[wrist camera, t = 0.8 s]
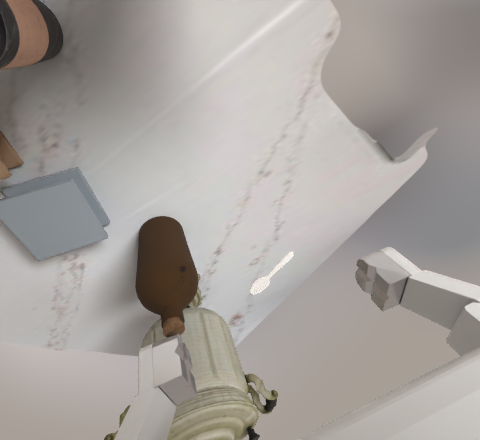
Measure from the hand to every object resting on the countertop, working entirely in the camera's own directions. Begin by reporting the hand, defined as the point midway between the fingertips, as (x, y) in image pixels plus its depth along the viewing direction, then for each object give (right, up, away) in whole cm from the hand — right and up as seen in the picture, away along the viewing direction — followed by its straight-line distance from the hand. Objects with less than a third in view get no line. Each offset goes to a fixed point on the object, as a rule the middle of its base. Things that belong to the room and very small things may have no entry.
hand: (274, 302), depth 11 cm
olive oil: (-19, 0, +47) cm, 51 cm away
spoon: (+8, -12, +66) cm, 68 cm away
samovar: (-19, -18, +59) cm, 65 cm away
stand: (-34, +6, +37) cm, 51 cm away
